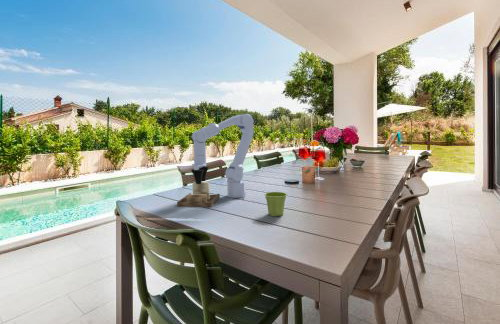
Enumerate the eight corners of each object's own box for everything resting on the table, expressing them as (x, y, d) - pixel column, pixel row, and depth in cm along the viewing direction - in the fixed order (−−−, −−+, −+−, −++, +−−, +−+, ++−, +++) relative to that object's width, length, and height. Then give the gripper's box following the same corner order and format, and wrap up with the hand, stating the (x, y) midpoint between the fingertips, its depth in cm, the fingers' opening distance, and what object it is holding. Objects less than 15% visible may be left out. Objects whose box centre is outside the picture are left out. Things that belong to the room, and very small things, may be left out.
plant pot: (260, 215, 117) (260, 195, 116) (270, 210, 125) (269, 190, 124) (282, 219, 112) (282, 197, 111) (290, 212, 121) (290, 192, 120)
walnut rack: (219, 199, 145) (219, 193, 145) (211, 209, 127) (211, 202, 127) (189, 198, 147) (189, 193, 147) (177, 208, 129) (177, 202, 129)
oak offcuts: (206, 203, 133) (206, 194, 133) (205, 205, 130) (205, 195, 130) (188, 203, 134) (188, 194, 134) (186, 205, 131) (186, 195, 131)
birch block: (209, 199, 140) (209, 182, 139) (208, 200, 139) (208, 182, 138) (194, 199, 141) (193, 181, 140) (193, 200, 140) (192, 182, 139)
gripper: (196, 153, 145) (197, 179, 147) (187, 156, 131) (188, 185, 132) (209, 153, 144) (210, 179, 146) (202, 156, 130) (202, 185, 132)
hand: (200, 182), depth 139 cm, fingers open, 7 cm apart
